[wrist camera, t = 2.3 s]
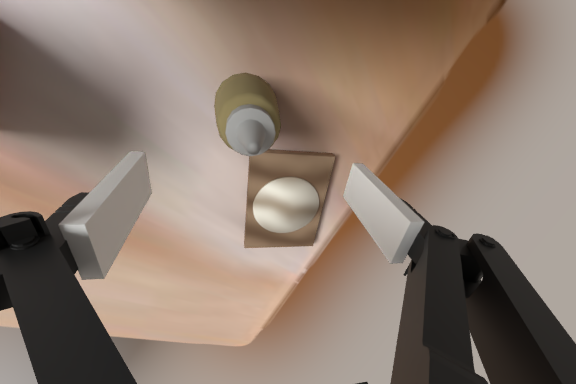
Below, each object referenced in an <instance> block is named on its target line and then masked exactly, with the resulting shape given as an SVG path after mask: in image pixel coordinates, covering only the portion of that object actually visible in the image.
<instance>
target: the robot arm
mask: <svg viewBox="0 0 576 384" xmlns="http://www.w3.org/2000/svg"><path fill="white" fill-rule="evenodd" d="M151 194H152V190H151V184H150V179H149V173H148V167H147V161H146V155H145V152H137V151H130V152H129V153H128V154H127V155H126V156H125V157H124V158H123V159H122V160H121V161H120V162H119V163H118V164H117V165H116V166H115V167H114V168H113V169H112V170H111V171H110V172H109V173H108V174H107V175H106V176H105V177H104V178H103V179H102V180H101V181H100V182H99V183H98V185H97V186H96V187H95V188H94V189H93V190H92V191H91V192H90V193H79V194H77V195H75V196H73V197H71V198H69V199H68V200H67V201H66V202H65V203H64V204H63V205H62V207H60V208H59V209H57V210H56V211H55V213H53V214H52V215H51V216H50V217H49V218H48V219H47V220H46V221H44V218H43V216H42V215H41V214H39V213H37V212H18V213H13V214H9V215H6V216H3V217H0V311H1V310H4V309H8V308H11V307H13V308H14V311H15V314H16V317H17V320H18V324H19V327H20V330H21V333H22V336H23V339H24V342H25V345H26V348H27V351H28V354H29V357H30V361H31V363H32V367H33V370H34V373H35V376H36V379H37V382H38V384H137V383H136V381H135V379H134V378H133V376H132V374H131V372H130V371H129V369H128V367H127V366H126V364H125V362H124V360H123V359H122V357H121V355H120V353H119V352H118V350H117V348H116V346H115V345H114V343H113V342H112V340H111V338H110V336H109V334H108V333H107V331H106V329H105V327H104V326H103V324H102V322H101V320H100V319H99V317H98V315H97V313H96V312H95V310H94V308H93V307H92V305H91V303H90V301H89V300H88V298H87V296H86V294H85V293H84V291H83V289H82V287H81V286H80V284H79V282H78V280H77V279H76V277H75V275H74V274H75V273H76V271H77V270H78V271H79V274H80V276H81V278H82V280H86V279H104V278H105V276H106V275H107V273H108V271H109V269H110V267H111V266H112V264H113V262H114V260H115V258H116V257H117V255H118V253H119V251H120V249H121V248H122V246H123V244H124V242H125V240H126V239H127V237H128V235H129V233H130V231H131V230H132V228H133V226H134V224H135V222H136V221H137V219H138V217H139V215H140V213H141V212H142V210H143V208H144V206H145V204H146V203H147V201H148V199H149V197H150V195H151ZM343 197H344V198H345V200H346V201H347V203H348V204H349V206H350V207H351V208H352V210H353V211H354V213H355V214H356V215H357V217H358V218H359V220H360V221H361V223H362V224H363V226H364V227H365V228H366V230H367V231H368V233H369V234H370V235H371V237H372V238H373V240H374V241H375V243H376V244H377V245H378V247H379V248H380V249H381V251H382V252H383V254H384V255H385V257H386V258H387V260H388V261H389V262H390V263H391V264H393V263H403V262H404V260H405V258H406V256H407V254H408V255H409V257H410V258H411V259H412V260H411V262H410V264H409V266H408V268H407V269H406V271H405V273H404V276H406V274H407V281H406V288H405V294H404V301H403V307H402V314H401V320H400V326H399V333H398V339H397V346H396V352H395V358H394V365H393V371H392V378H391V384H488V382H487V381H486V380H485V379H484V378H483V377H481V376H479V375H478V374H476V373H475V370H474V364H473V356H472V348H471V339H470V333H471V335H472V338H473V341H474V343H475V346H476V348H477V350H478V353H479V356H480V358H481V361H482V363H483V366H484V368H485V371H486V374H487V376H488V379H489V381H490V384H576V344H575V342H574V341H573V340H572V338H571V337H570V336H569V335H568V334H567V332H566V330H565V329H564V328H563V326H562V325H561V324H560V322H559V321H558V320H557V319H556V317H555V316H554V315H553V313H552V312H551V311H550V309H549V308H548V307H547V305H546V304H545V303H544V301H543V300H542V299H541V297H540V296H539V295H538V293H537V292H536V291H535V289H534V288H533V287H532V285H531V284H530V283H529V281H528V280H527V279H526V277H525V276H524V275H523V273H522V272H521V271H520V269H519V268H518V267H517V265H516V264H515V263H514V261H513V260H512V259H511V257H510V256H509V255H508V253H507V252H506V251H505V249H504V248H503V247H502V246H501V245H500V244H499V243H498V242H497V241H495V240H494V239H493V238H490V237H489V236H485V235H482V234H473V235H472V237H471V238H470V239H469V241H467V240H462V239H458V238H457V236H456V235H455V234H454V233H453V232H451V231H450V230H448V229H446V228H444V227H441V226H435V225H433V226H432V225H431V224H430V223H429V222H428V221H427V220H425V219H424V218H423V217H422V216H421V215H420V214H419V213H417V211H416V210H415V209H413V207H412V206H411V205H409V204H408V203H407V202H406V201H404V200H402V199H401V198H399V197H398V196H396V195H395V194H394V193H393V192H392V191H391V190H390V189H389V188H388V187H387V186H386V185H385V184H384V183H383V182H382V181H381V180H380V179H379V178H378V177H376V176H375V175H374V174H373V173H372V172H371V171H370V170H369V169H368V168H367V167H366V166H365V165H364V164H361V163H353V164H352V168H351V171H350V175H349V178H348V181H347V185H346V188H345V192H344V195H343ZM482 277H483V280H482V281H481V278H482ZM469 330H470V331H469ZM357 384H368V383H367V382H363V383H357Z"/></svg>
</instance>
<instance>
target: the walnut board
mask: <svg viewBox="0 0 576 384" xmlns="http://www.w3.org/2000/svg"><path fill="white" fill-rule="evenodd" d="M334 161H335V156H334V155H333V154H332V153H318V152H302V151H286V150H270V149H268V150H267V151H265V152H264V153H262V154H260V155H256V156H249V172H248V189H247V205H246V222H245V239H244V248H261V247H294V246H313V243H314V239H315V235H316V231H317V227H318V223H319V219H320V216H321V212H322V208H323V204H324V200H325V196H326V192H327V188H328V184H329V180H330V176H331V172H332V168H333V164H334Z"/></svg>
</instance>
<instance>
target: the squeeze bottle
mask: <svg viewBox="0 0 576 384" xmlns="http://www.w3.org/2000/svg"><path fill="white" fill-rule="evenodd" d="M214 108H215V115H216V123H217V127H218V131H219V134H220V137H221V138H222V140H223V141H224V142H225V144H226V145H227V146H228V147H229V148H231V149H233V150H235V151H236V152H238V153H240V154H242V155H246V156H256V155H260V154H262V153H264V152H265V151H267V150H268V149H269V148H270V147H271V146H272V145H273V143H274V142H275V141H276V139H277V138H278V136H279V132H280V128H281V123H280V115H279V110H278V105H277V100H276V96H275V94H274V92H273V90H272V89H271V87H270V85H269V84H268V83H267V82H265V81H264V80H263V79H262V78H260V77H259V76H256V75H252V74H249V73H242V74H235V75H232V76H231V77H229V78H228V79H226V80H225V81H223V82H222V84H221V85H220V87H219V89H218V90H217V92H216V96H215V105H214Z"/></svg>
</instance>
